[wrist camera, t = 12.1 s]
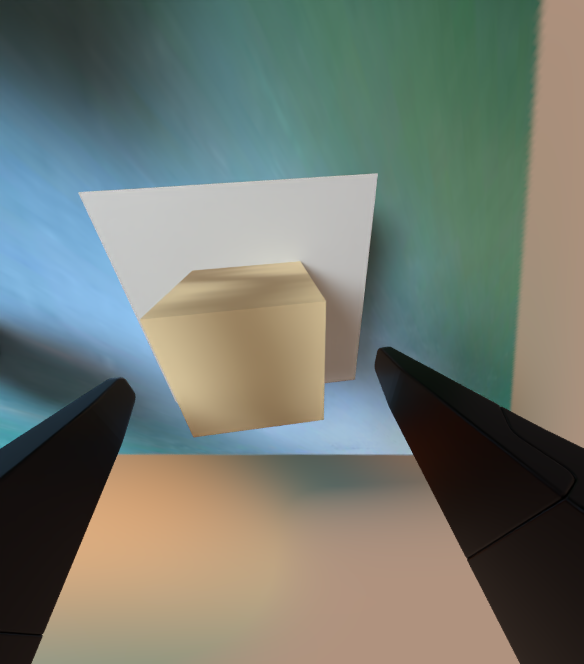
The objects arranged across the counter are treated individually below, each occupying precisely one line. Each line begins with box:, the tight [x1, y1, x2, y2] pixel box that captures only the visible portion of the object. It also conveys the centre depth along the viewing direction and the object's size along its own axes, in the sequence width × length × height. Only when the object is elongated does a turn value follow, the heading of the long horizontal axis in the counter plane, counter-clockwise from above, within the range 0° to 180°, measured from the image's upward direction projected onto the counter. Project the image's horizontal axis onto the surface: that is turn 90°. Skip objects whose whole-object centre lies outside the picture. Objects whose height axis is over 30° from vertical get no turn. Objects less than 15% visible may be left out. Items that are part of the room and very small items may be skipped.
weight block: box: [140, 261, 326, 437], centre depth 9 cm, size 5×5×5 cm
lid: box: [78, 174, 378, 402], centre depth 12 cm, size 12×11×1 cm
